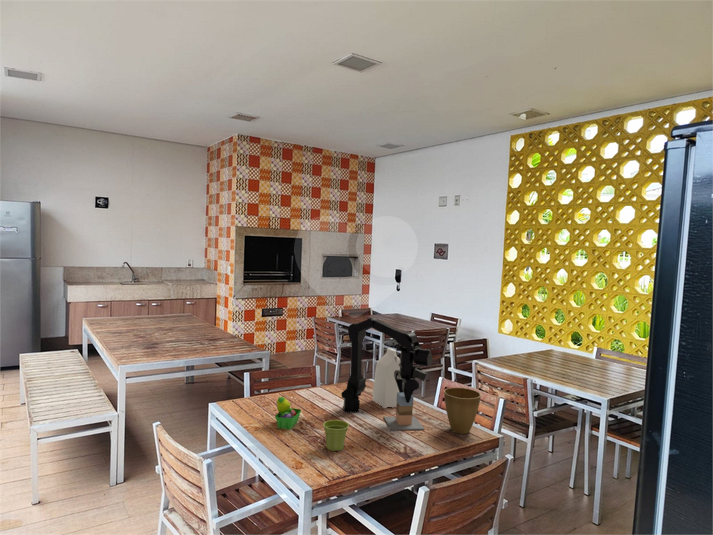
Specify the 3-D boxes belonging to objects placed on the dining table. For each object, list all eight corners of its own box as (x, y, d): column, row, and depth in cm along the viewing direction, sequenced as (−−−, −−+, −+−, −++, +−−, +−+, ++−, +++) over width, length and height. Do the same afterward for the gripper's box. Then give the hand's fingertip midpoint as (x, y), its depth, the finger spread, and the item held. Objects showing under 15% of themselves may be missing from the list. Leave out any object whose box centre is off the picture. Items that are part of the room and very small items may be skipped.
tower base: (391, 430, 192) (391, 419, 192) (383, 418, 206) (384, 407, 206) (424, 430, 195) (425, 419, 194) (414, 417, 208) (415, 407, 208)
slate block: (413, 405, 198) (413, 396, 198) (400, 406, 197) (401, 396, 197) (408, 401, 203) (409, 392, 203) (396, 401, 202) (396, 392, 202)
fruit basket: (292, 431, 186) (293, 403, 185) (270, 428, 188) (272, 400, 187) (301, 421, 197) (302, 394, 197) (281, 418, 199) (282, 392, 198)
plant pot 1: (316, 449, 170) (318, 425, 170) (330, 440, 179) (331, 417, 178) (339, 455, 166) (340, 431, 166) (352, 446, 174) (353, 423, 174)
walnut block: (412, 415, 198) (412, 405, 198) (399, 415, 197) (400, 405, 197) (408, 410, 203) (409, 401, 203) (396, 410, 202) (396, 401, 202)
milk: (372, 400, 230) (375, 347, 229) (393, 398, 235) (396, 346, 234) (384, 408, 219) (387, 352, 218) (405, 406, 224) (408, 351, 223)
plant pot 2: (448, 421, 206) (451, 385, 206) (482, 429, 199) (485, 392, 198) (436, 431, 194) (438, 393, 193) (472, 440, 186) (474, 400, 185)
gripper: (432, 368, 192) (430, 406, 192) (418, 357, 210) (416, 392, 210) (405, 368, 190) (403, 406, 190) (394, 357, 208) (392, 392, 209)
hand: (404, 399), depth 200 cm, fingers open, 9 cm apart
